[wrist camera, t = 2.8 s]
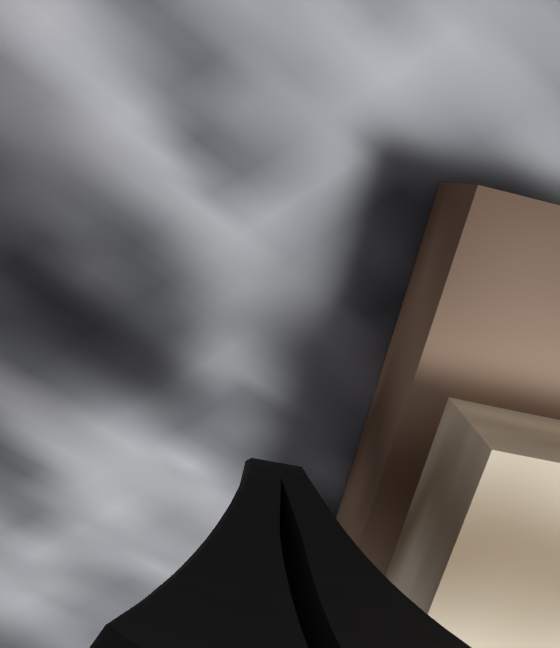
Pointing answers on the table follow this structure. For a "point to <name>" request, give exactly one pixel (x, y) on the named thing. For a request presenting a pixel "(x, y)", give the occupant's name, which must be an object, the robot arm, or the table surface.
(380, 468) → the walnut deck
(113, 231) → the table surface
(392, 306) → the table surface
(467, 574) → the birch tile
